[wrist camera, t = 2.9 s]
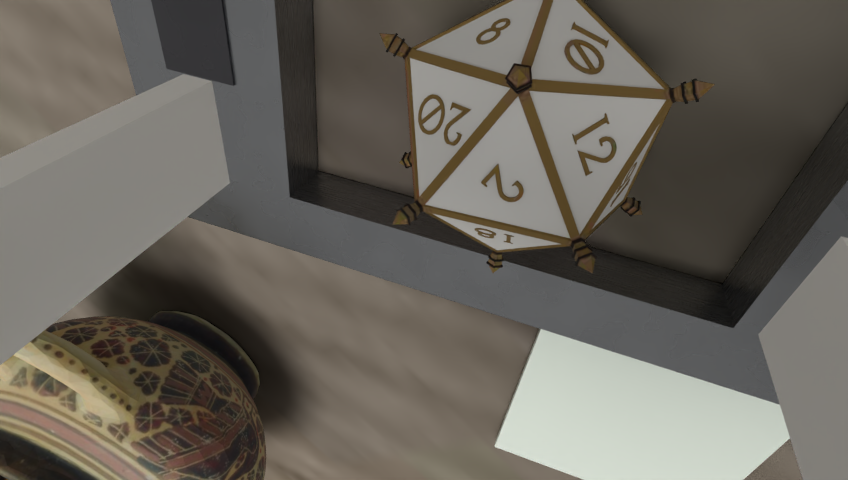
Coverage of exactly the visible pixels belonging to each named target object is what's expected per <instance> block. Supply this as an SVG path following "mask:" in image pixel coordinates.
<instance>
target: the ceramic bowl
mask: <svg viewBox="0 0 848 480" xmlns="http://www.w3.org/2000/svg"><path fill="white" fill-rule="evenodd" d="M259 384H260V382H259V373H258V371H257V369H256V367H255V365H254V364H253V362H252V361H251V359H250V358H249V357H248V355H247V354H246V353H245V352H244V350H243V349H242V348H241V347H240V346H239V345H238V344H237V343H236V342H235V341H234V340H233V339H232V338H231V337H229V336H228V335H227V334H226V333H224V332H223V331H221V330H220V329H218V328H217V327H215V326H213V325H212V324H210V323H209V322H207V321H206V320H204V319H202V318H200V317H198V316H195V315H192V314H188V313H183V312H179V311H160V312H157V313H156V314H155V315H154V316H152V317H151V318H150V320H149V322H146V321H142V320H136V319H131V318H124V317H117V316H115V317H89V318H81V319H73V320H68V321H64V322H59V323H55V324H53V325H50V326H49V327H48V328H47V329H45V330H44V331H43V332H42V333H40V334H39V335H38V336H37V337H35V338H34V339H33V340H32V341H30V342H29V343H28V344H27V345H25V346H24V347H23V348H21V349H20V350H19V351H18V352H16V353H15V354H14V355H13V356H11V357H10V358H9V359H8V360H6V361H5V362H4V363H3V364H1V365H0V480H264V475H265V468H266V446H265V437H264V430H263V425H262V422H261V419H260V416H259V414H258V411H257V408H256V405H255V403H254V401H253V399H254V397H255V396H256V394H257V391H258V388H259Z"/></svg>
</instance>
